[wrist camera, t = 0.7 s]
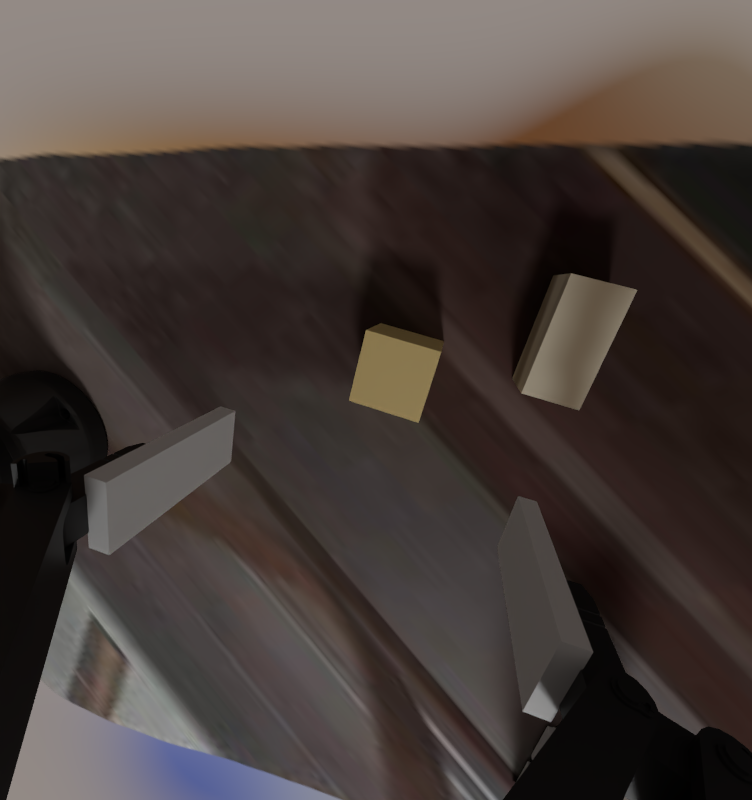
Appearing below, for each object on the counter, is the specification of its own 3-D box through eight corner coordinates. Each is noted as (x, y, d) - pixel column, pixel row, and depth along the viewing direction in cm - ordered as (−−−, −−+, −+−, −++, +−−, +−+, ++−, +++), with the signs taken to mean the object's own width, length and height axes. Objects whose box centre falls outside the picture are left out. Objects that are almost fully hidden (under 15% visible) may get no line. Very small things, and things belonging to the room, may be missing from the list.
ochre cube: (365, 382, 35) (348, 400, 30) (381, 322, 33) (366, 329, 28) (424, 401, 35) (418, 422, 29) (443, 341, 33) (441, 352, 27)
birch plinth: (511, 378, 32) (521, 393, 28) (552, 275, 29) (571, 273, 25) (560, 392, 32) (579, 410, 27) (607, 289, 29) (637, 290, 24)
